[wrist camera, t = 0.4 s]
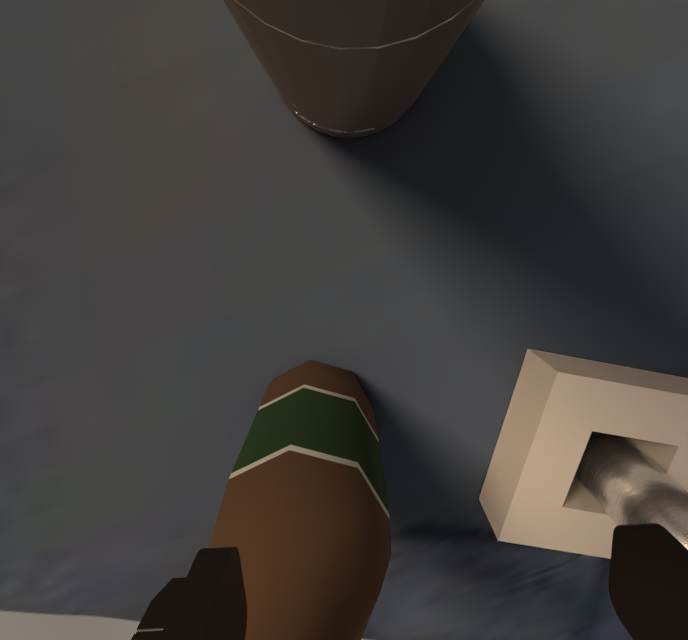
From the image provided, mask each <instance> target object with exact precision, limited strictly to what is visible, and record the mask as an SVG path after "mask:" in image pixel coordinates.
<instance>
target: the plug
mask: <svg viewBox="0 0 688 640" xmlns="http://www.w3.org/2000/svg"><path fill="white" fill-rule="evenodd" d="M575 477H576V478H577V479H578V480H579V482H580V483H581V484H582V485H583V486H584V487H585V489H586V490H587V491H588V492H589V493H590V494H591V496H592V497H593V498H594V499H595V500H596V502H597V503H598V504H599V505H600V506H601V507H602V509H603V510H604V511H605V512H606V513H607V514H608V516H609V517H610V518H611V519H612V520H613V522H614V523H615V524H616V525H617V526H618V525H629V524H645V523H657V524H660V525H661V526H663V527H664V528H665V529H667V530H668V531H669V532H670V533H671V534H672V535H673V536H674V537H675V538H676V539H677V540H678V541H679V542H680V543H681V544H682V545H683V546H685V547H686V548H687V549H688V491H686V490H685V489H684V488H683V487H682V486H680V485H679V484H678V483H677V482H676V481H674V480H673V479H672V478H671V477H670V476H668V475H667V474H666V473H665V472H664V471H662V470H661V469H660V468H659V467H658V466H657V465H655V464H654V463H653V462H652V461H651V460H649V459H648V458H647V457H646V456H645V455H643V454H642V453H641V452H640V451H639V450H637V449H636V448H635V447H634V446H633V445H631V444H630V443H629V442H628V441H627V440H625V439H624V438H623V437H622V436H617V435H612V434H606V433H600V432H595V431H592V433H591V435H590V438H589V440H588V443H587V445H586V448H585V451H584V453H583V456H582V458H581V461H580V463H579V466H578V468H577V471H576V473H575Z"/></svg>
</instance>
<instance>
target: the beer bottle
mask: <svg viewBox="0 0 688 640" xmlns="http://www.w3.org/2000/svg"><path fill="white" fill-rule="evenodd" d="M221 547H237V548H238V551H239V555H240V561H241V568H242V574H243V581H244V588H245V594H246V601H247V628H246V635H245V640H361V637H362V635H363V633H364V630H365V628H366V625H367V623H368V620H369V618H370V615H371V613H372V611H373V608H374V606H375V603H376V601H377V598H378V596H379V594H380V591H381V588H382V584H383V581H384V577H385V574H386V571H387V567H388V564H389V560H390V557H391V534H390V517H389V510H388V503H387V496H386V489H385V482H384V475H383V468H382V461H381V454H380V447H379V440H378V433H377V426H376V419H375V415H374V411H373V408H372V405H371V404H370V402H369V400H368V398H367V397H366V395H365V393H364V391H363V390H362V388H361V386H360V384H359V383H358V381H357V379H356V377H355V376H354V374H353V372H351V371H348V370H344V369H340V368H337V367H333V366H330V365H326V364H323V363H319V362H315V361H312V360H310V361H308V362H306V363H304V364H302V365H300V366H298V367H296V368H294V369H292V370H290V371H288V372H286V373H284V374H282V375H280V376H278V377H276V378H274V379H273V380H272V382H271V383H270V385H269V387H268V389H267V391H266V393H265V395H264V398H263V400H262V402H261V405H260V407H259V409H258V412H257V414H256V417H255V419H254V421H253V424H252V426H251V428H250V431H249V433H248V435H247V438H246V440H245V442H244V445H243V447H242V450H241V452H240V454H239V457H238V459H237V461H236V464H235V466H234V468H233V471H232V473H231V475H230V478H229V480H228V484H227V487H226V490H225V494H224V497H223V500H222V503H221V507H220V510H219V513H218V517H217V521H216V525H215V529H214V533H213V537H212V540H211V544H210V548H221Z"/></svg>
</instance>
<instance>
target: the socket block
mask: <svg viewBox="0 0 688 640" xmlns="http://www.w3.org/2000/svg"><path fill="white" fill-rule="evenodd" d="M592 431H595V432H600V433H606V434H612V435H617V436H623V437H624V439H625V440H627V441H628V442H629V443H630V444H631V445H633V446H634V447H635V448H636V449H637V450H639V451H640V452H641V453H642V454H643V455H645V456H646V457H647V458H648V459H649V460H651V461H652V462H653V463H654V464H655V465H657V466H658V467H659V468H660V469H661V470H662V471H664V472H665V473H666V474H667V475H668V476H670V477H671V478H672V479H673V480H674V481H676V482H677V483H678V484H679V485H680V486H682V487H683V488H684V489H685V490H686V491H688V378H685V377H680V376H674V375H669V374H663V373H658V372H653V371H647V370H642V369H636V368H631V367H625V366H620V365H614V364H609V363H604V362H598V361H593V360H587V359H582V358H576V357H571V356H566V355H560V354H555V353H549V352H544V351H538V350H533V349H527V352H526V355H525V359H524V362H523V365H522V368H521V371H520V374H519V377H518V380H517V383H516V386H515V389H514V392H513V395H512V398H511V401H510V404H509V407H508V411H507V414H506V417H505V420H504V423H503V426H502V429H501V432H500V435H499V438H498V441H497V444H496V447H495V450H494V453H493V456H492V459H491V463H490V466H489V469H488V472H487V475H486V478H485V481H484V484H483V487H482V490H481V493H480V496H479V500H480V502H481V505H482V507H483V509H484V511H485V513H486V516H487V518H488V520H489V522H490V524H491V527H492V529H493V531H494V533H495V535H496V538H497V540H498V541H503V542H509V543H515V544H521V545H528V546H534V547H540V548H546V549H553V550H559V551H565V552H571V553H578V554H584V555H590V556H596V557H603V558H609V559H611V550H612V539H613V531H614V529H615V527H616V526H617V525H616V524H615V523H614V522H613V520H612V519H611V518H610V517H609V516H608V514H607V513H606V512H605V511H604V510H603V509H602V507H601V506H600V505H599V504H598V503H597V502H596V500H595V499H594V498H593V497H592V496H591V494H590V493H589V492H588V491H587V490H586V489H585V487H584V486H583V485H582V484H581V483H580V482H579V480H578V479H577V478H576V477H575V473H576V471H577V468H578V466H579V463H580V461H581V458H582V456H583V453H584V451H585V448H586V445H587V443H588V440H589V438H590V435H591V433H592Z"/></svg>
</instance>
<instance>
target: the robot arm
mask: <svg viewBox="0 0 688 640" xmlns="http://www.w3.org/2000/svg"><path fill="white" fill-rule="evenodd" d="M224 2H225V4H226V5H227V7H228V9H229V11H230V12H231V14H232V16H233V17H234V19H235V21H236V23H237V24H238V26H239V28H240V29H241V31H242V33H243V34H244V36H245V38H246V40H247V41H248V43H249V45H250V46H251V48H252V50H253V52H254V53H255V55H256V57H257V58H258V60H259V62H260V63H261V65H262V67H263V69H264V70H265V72H266V74H267V76H268V77H269V79H270V81H271V82H272V84H273V86H274V87H275V89H276V91H277V92H278V94H279V96H280V97H281V98H282V100H283V101H284V103H285V104H286V105H287V107H288V108H289V110H290V111H291V112H292V113H293V114H294V115H296V116H297V117H298V118H299V119H300V120H301V121H302V122H303V123H305V124H306V125H308V126H310V127H311V128H313V129H315V130H317V131H318V132H321V133H324V134H327V135H331V136H334V137H343V138H356V137H363V136H369V135H371V134H374V133H376V132H379V131H382V130H384V129H386V128H387V127H389V126H390V125H392V124H393V123H395V122H396V121H398V120H399V119H400V118H401V117H402V116H403V115H404V114H405V113H406V112H407V111H408V110H409V109H410V108H411V107H412V105H413V104H414V102H415V101H416V99H417V98H418V96H419V95H420V94H421V92H422V91H423V89H424V88H425V86H426V85H427V84H428V82H429V81H430V80H431V78H432V77H433V75H434V74H435V72H436V71H437V69H438V68H439V66H440V65H441V63H442V62H443V61H444V59H445V58H446V56H447V55H448V53H449V52H450V50H451V49H452V47H453V46H454V44H455V43H456V41H457V40H458V38H459V37H460V36H461V34H462V33H463V31H464V30H465V28H466V27H467V25H468V24H469V22H470V21H471V19H472V18H473V16H474V15H475V13H476V12H477V10H478V9H479V8H480V6H481V5H482V3H483V2H484V0H224ZM609 593H610V597H611V601H612V604H613V607H614V609H615V611H616V614H617V615H618V617H619V619H620V621H621V622H622V624H623V625H624V627H625V628H626V629H627V631H628V632H629V634H630V635H631V637H632V638H633V640H688V549H687V548H686V547H685V546H683V545H682V544H681V543H680V542H679V541H678V540H677V539H676V538H675V537H674V536H673V535H672V534H671V533H670V532H669V531H668V530H667V529H665V528H664V527H663V526H661V525H660V524H657V523H645V524H629V525H618V526H616V527H615V529H614V531H613V539H612V550H611V562H610V574H609ZM246 628H247V601H246V594H245V588H244V581H243V574H242V568H241V561H240V555H239V551H238V548H237V547H221V548H204V549H201V550H200V551H199V552H198V553H197V555H196V557H195V560H194V562H193V564H192V566H191V569H190V571H189V573H188V575H187V577H186V578H172V579H171V581H170V582H169V583H168V584H167V585H166V586H165V587H164V588H163V589H162V590H161V591H160V592H159V593H158V594H157V595H156V597H155V598H154V599H153V600H152V601H151V602H150V604H149V606H148V608H147V610H146V612H145V614H144V616H143V618H142V620H141V622H140V624H139V626H138V628H137V633H136V634H134V635H133V637H132V639H131V640H245V635H246Z"/></svg>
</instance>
